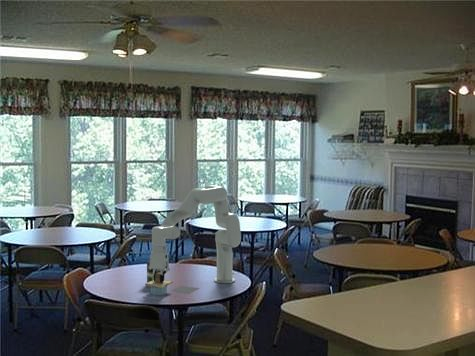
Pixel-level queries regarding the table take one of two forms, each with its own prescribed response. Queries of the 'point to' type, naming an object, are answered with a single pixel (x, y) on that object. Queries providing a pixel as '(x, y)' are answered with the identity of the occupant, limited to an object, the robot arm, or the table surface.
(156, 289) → the bowl
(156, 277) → the lid
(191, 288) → the mat
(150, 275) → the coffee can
